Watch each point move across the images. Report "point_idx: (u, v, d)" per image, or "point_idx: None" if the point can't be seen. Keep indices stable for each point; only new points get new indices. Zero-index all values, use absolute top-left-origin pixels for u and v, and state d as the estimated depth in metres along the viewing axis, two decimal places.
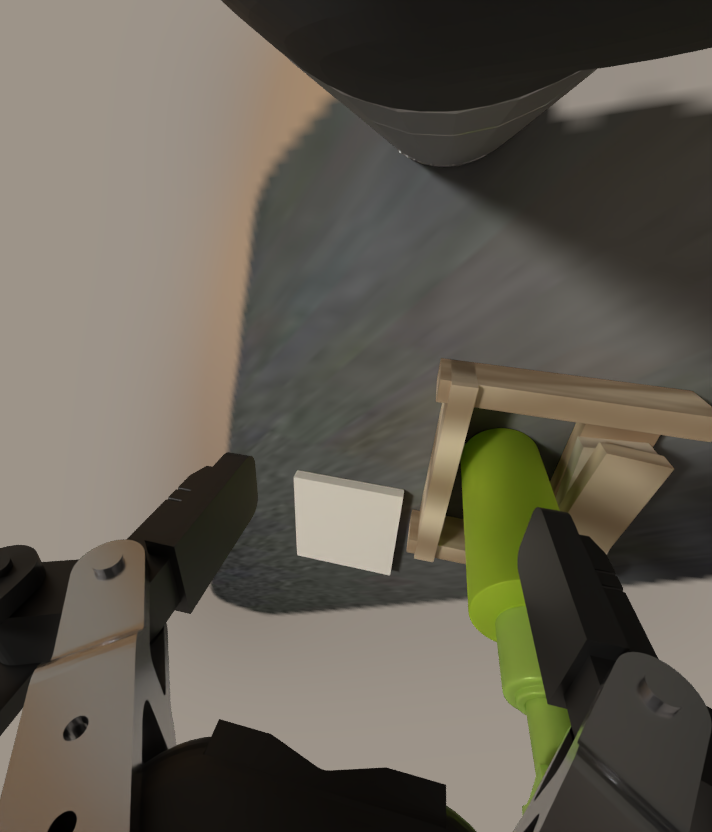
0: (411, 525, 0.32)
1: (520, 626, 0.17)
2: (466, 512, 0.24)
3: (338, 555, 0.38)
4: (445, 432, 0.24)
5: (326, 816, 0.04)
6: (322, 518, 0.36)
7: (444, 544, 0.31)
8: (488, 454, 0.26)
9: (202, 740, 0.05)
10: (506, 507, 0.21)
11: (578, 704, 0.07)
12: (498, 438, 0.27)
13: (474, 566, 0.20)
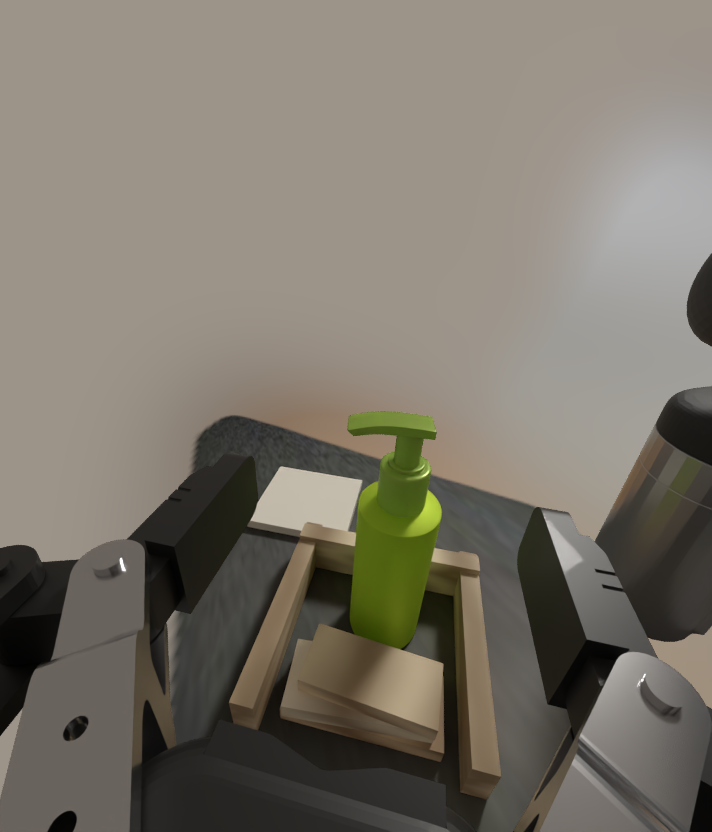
0: None
1: None
2: None
3: (277, 489, 0.45)
4: (439, 551, 0.34)
5: (326, 816, 0.04)
6: (321, 487, 0.46)
7: (313, 548, 0.34)
8: None
9: (202, 740, 0.05)
10: None
11: (578, 704, 0.07)
12: None
13: None
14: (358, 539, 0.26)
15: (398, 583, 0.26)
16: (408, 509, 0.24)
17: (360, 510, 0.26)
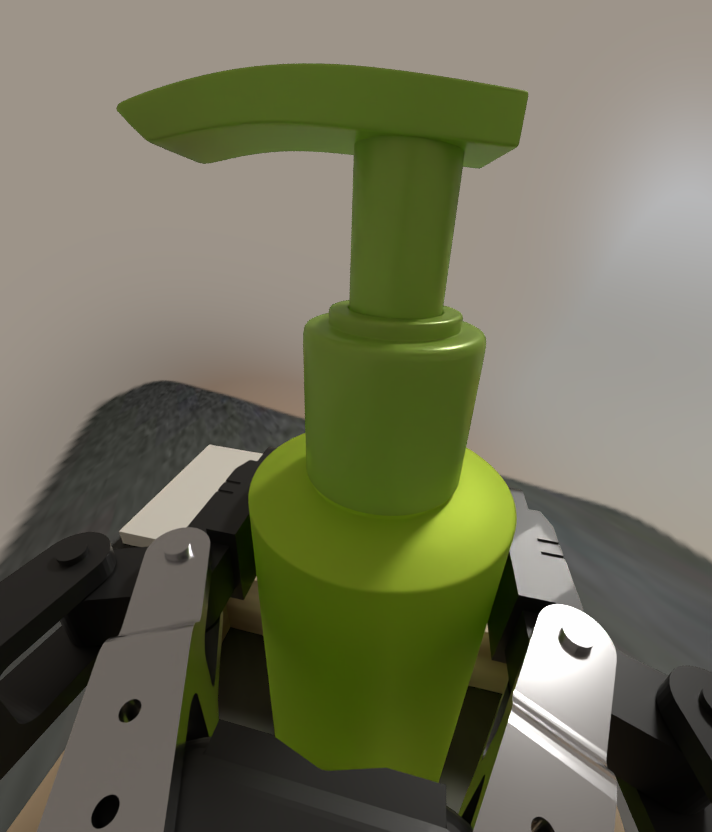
0: None
1: None
2: None
3: (193, 479, 0.27)
4: None
5: (326, 816, 0.04)
6: None
7: None
8: None
9: (202, 740, 0.05)
10: None
11: (513, 655, 0.07)
12: None
13: None
14: (258, 589, 0.09)
15: (380, 738, 0.08)
16: (407, 486, 0.06)
17: (250, 497, 0.08)
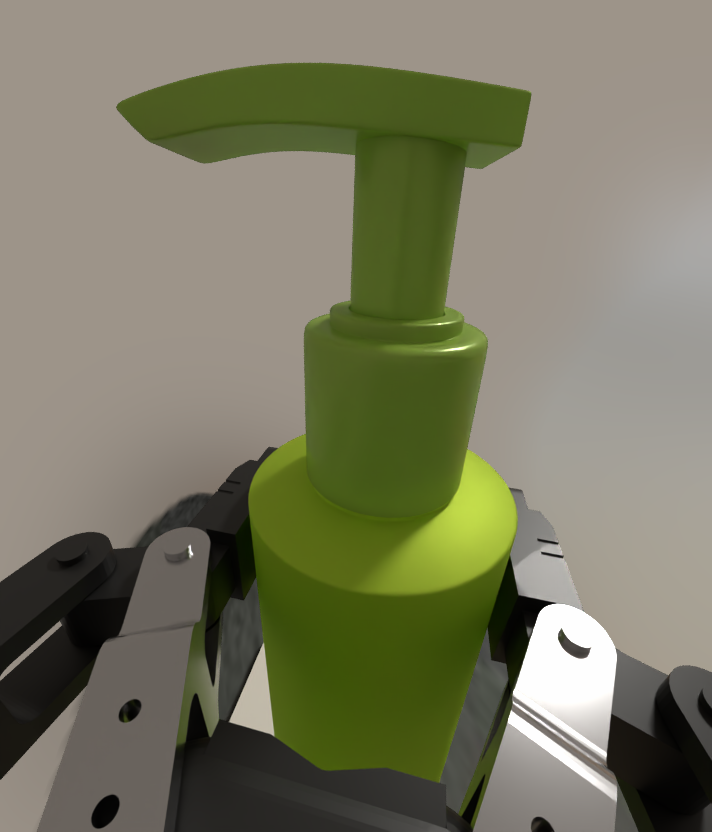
0: None
1: None
2: None
3: (258, 709, 0.22)
4: None
5: (326, 816, 0.04)
6: None
7: None
8: None
9: (202, 740, 0.05)
10: None
11: (513, 654, 0.07)
12: None
13: None
14: (258, 591, 0.09)
15: (380, 741, 0.08)
16: (408, 488, 0.06)
17: (250, 498, 0.08)
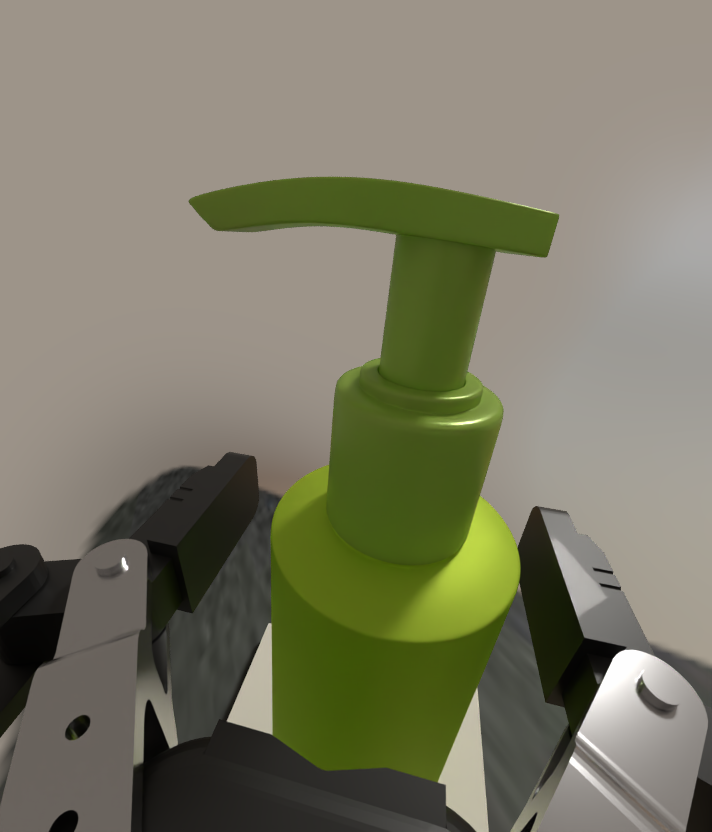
0: None
1: None
2: None
3: (257, 728, 0.16)
4: None
5: (326, 816, 0.04)
6: None
7: None
8: None
9: (202, 740, 0.05)
10: None
11: (575, 701, 0.07)
12: None
13: None
14: (272, 622, 0.09)
15: None
16: (426, 540, 0.07)
17: (273, 537, 0.08)
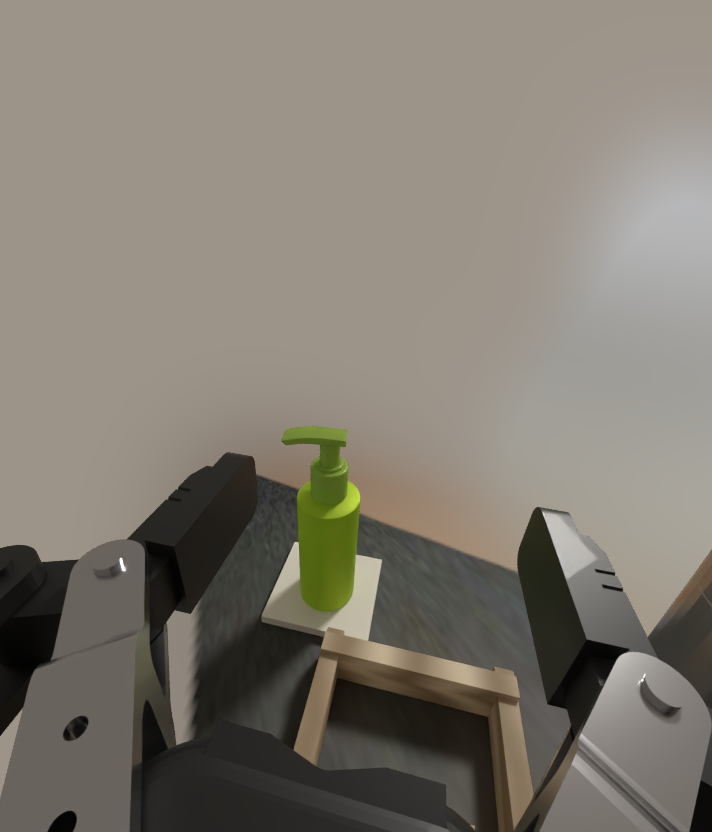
0: None
1: None
2: None
3: (293, 574, 0.42)
4: (474, 669, 0.31)
5: (326, 816, 0.04)
6: None
7: (336, 665, 0.32)
8: None
9: (202, 740, 0.05)
10: None
11: (578, 704, 0.07)
12: None
13: None
14: (298, 522, 0.35)
15: (328, 555, 0.34)
16: (331, 498, 0.33)
17: (298, 500, 0.34)
